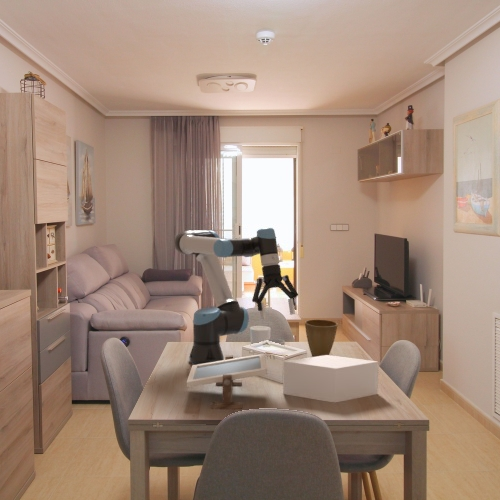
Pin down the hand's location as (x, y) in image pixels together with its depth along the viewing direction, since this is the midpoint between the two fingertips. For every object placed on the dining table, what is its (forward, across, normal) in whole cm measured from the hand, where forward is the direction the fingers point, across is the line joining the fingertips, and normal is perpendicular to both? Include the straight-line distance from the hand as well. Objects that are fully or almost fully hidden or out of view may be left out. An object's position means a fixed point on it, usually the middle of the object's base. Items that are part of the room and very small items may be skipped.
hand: (278, 316), depth 215 cm
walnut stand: (+25, -30, -9) cm, 40 cm away
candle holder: (+16, +6, +36) cm, 40 cm away
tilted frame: (+16, -29, -11) cm, 35 cm away
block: (+31, +5, -22) cm, 38 cm away
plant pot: (+22, +29, +20) cm, 42 cm away
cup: (+20, +5, +19) cm, 29 cm away
